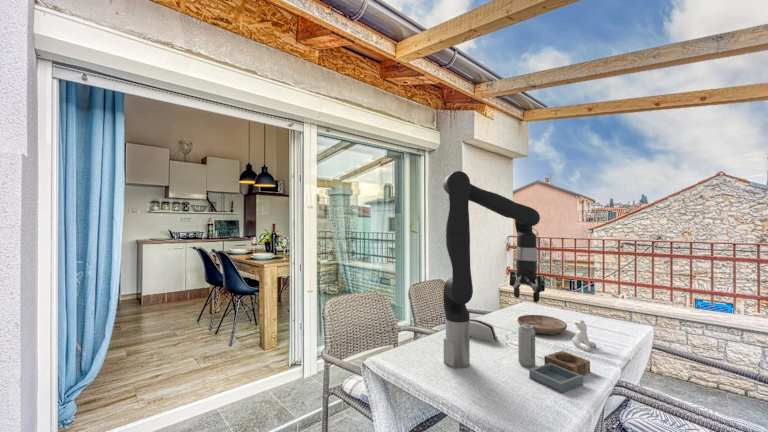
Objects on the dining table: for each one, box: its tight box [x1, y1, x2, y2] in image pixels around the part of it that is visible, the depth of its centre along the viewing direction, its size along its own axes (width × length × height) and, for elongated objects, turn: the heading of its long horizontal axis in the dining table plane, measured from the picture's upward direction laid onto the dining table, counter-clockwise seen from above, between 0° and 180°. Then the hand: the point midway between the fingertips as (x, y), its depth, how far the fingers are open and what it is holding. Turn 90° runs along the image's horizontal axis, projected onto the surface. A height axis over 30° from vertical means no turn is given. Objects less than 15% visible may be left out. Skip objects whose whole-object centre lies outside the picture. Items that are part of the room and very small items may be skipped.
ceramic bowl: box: [516, 314, 568, 335], centre depth 172 cm, size 23×24×5 cm
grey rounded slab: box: [470, 317, 499, 343], centre depth 160 cm, size 17×5×10 cm, turn 46°
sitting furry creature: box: [571, 319, 597, 353], centre depth 149 cm, size 10×9×12 cm
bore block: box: [544, 350, 591, 376], centre depth 126 cm, size 12×12×4 cm
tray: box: [528, 363, 584, 394], centre depth 116 cm, size 12×12×3 cm
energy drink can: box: [517, 324, 536, 368], centre depth 130 cm, size 6×6×15 cm
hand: (526, 299), depth 132 cm, fingers open, 8 cm apart
